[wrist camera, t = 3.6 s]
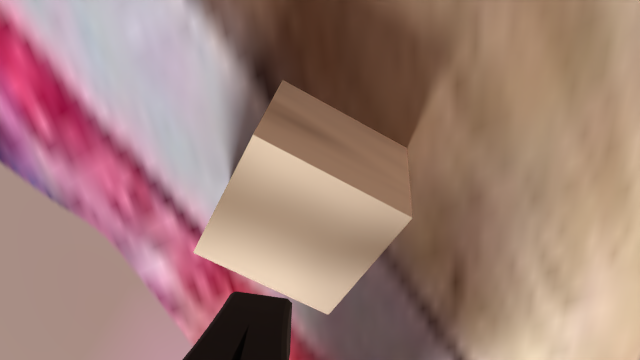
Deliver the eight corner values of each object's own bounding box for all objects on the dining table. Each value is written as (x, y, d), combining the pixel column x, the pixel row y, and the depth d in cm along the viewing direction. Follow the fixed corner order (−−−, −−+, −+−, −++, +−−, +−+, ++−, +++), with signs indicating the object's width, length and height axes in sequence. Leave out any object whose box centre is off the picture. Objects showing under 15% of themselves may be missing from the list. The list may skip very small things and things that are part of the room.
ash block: (339, 235, 23) (328, 315, 18) (230, 182, 22) (192, 252, 17) (407, 146, 19) (412, 218, 15) (283, 78, 18) (252, 134, 14)
